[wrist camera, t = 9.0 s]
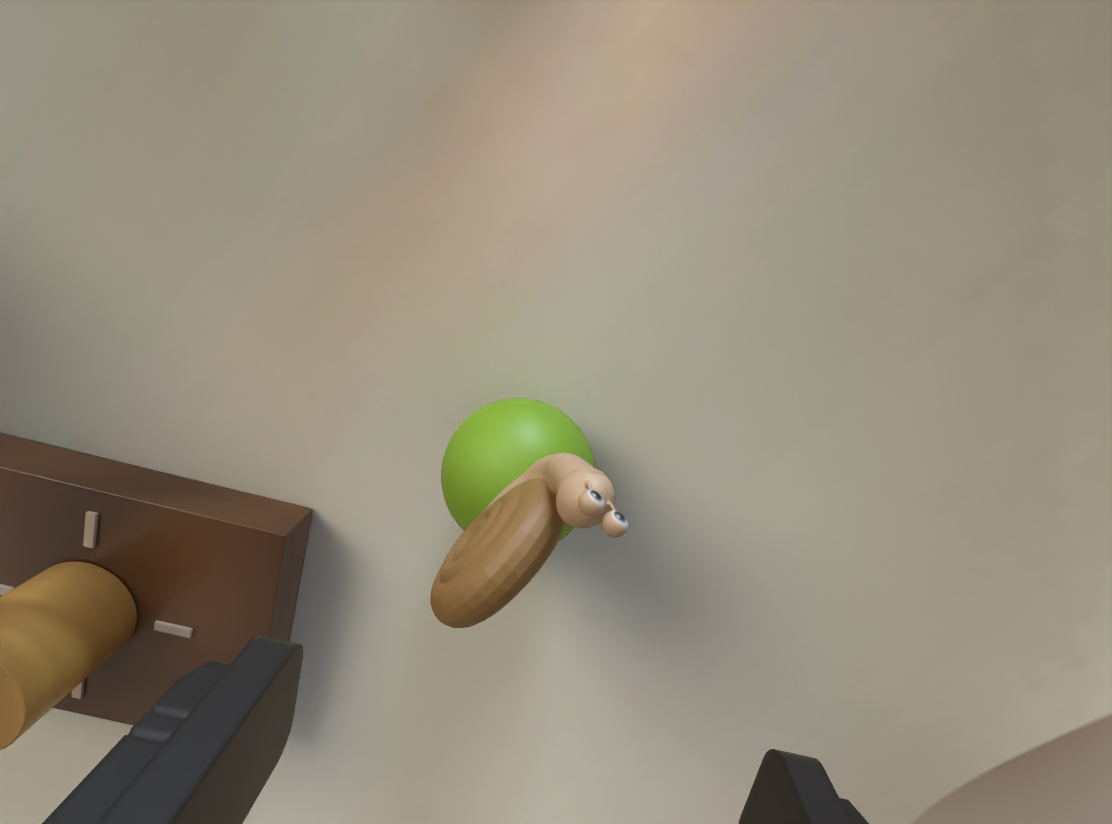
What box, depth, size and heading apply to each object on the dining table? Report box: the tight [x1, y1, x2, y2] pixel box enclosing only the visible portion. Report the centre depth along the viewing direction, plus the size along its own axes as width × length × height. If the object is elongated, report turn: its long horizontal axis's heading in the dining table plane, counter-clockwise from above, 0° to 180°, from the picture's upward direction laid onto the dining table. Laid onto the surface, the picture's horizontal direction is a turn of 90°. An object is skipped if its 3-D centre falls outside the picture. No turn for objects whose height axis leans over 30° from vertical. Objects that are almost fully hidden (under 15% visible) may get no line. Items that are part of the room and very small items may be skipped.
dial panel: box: [0, 433, 312, 725], centre depth 24 cm, size 14×10×3 cm
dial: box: [0, 561, 137, 750], centre depth 20 cm, size 4×4×5 cm
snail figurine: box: [431, 398, 628, 628], centre depth 18 cm, size 5×6×12 cm
